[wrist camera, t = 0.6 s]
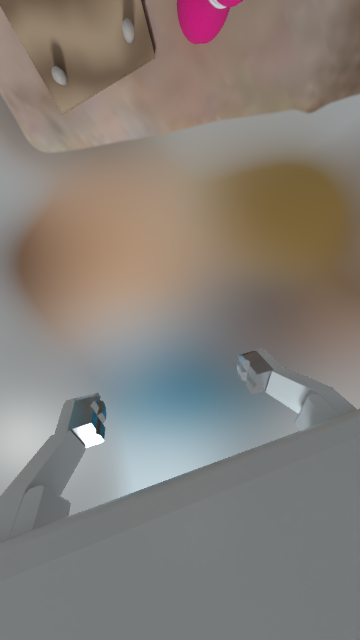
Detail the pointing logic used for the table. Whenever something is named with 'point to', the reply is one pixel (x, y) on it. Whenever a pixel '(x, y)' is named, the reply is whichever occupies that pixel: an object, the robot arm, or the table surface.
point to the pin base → (81, 43)
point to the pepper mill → (203, 18)
